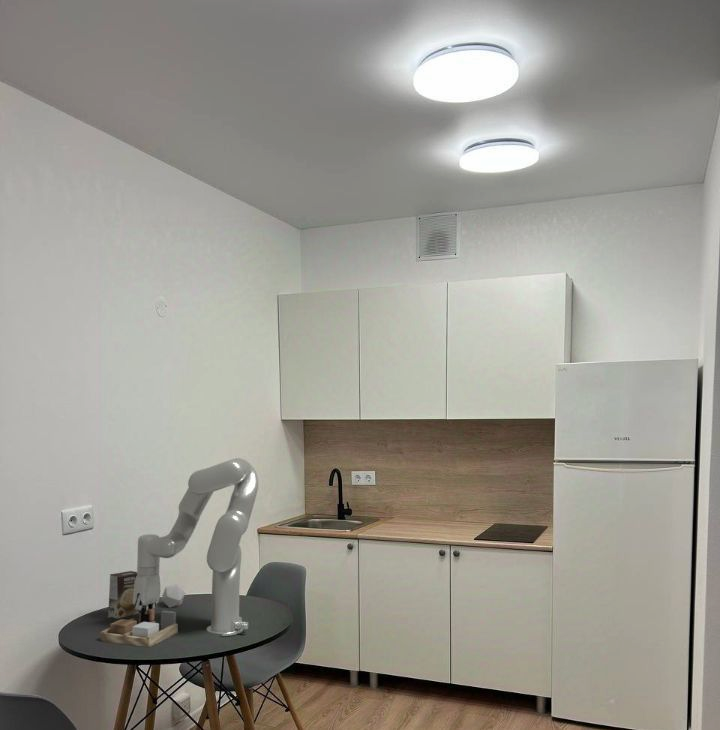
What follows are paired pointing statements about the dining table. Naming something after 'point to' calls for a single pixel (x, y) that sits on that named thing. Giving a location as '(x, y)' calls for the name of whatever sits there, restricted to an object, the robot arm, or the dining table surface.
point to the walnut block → (128, 624)
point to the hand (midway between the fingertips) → (146, 623)
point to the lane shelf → (139, 641)
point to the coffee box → (122, 594)
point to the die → (173, 596)
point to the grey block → (154, 625)
